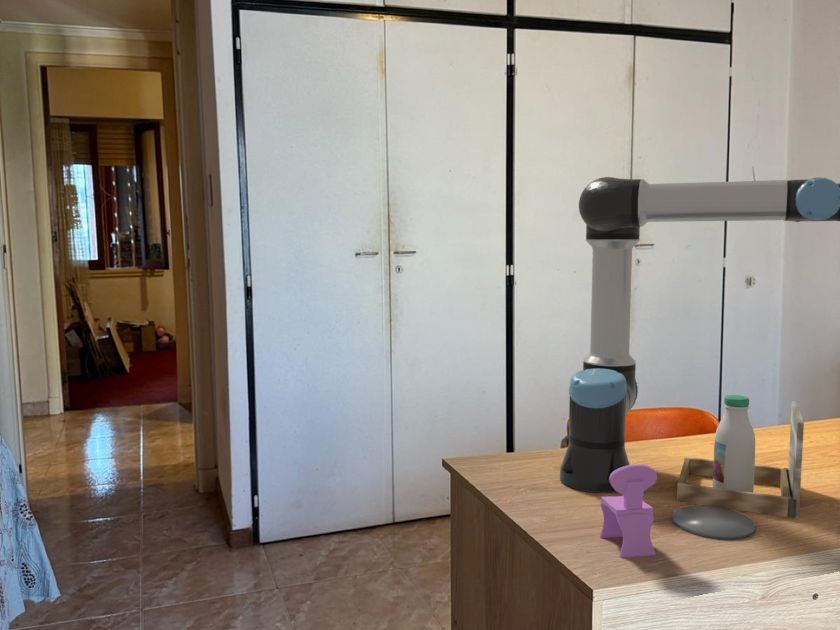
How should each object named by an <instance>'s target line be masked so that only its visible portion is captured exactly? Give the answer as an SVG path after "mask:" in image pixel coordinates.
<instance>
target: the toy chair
mask: <svg viewBox="0 0 840 630" xmlns="http://www.w3.org/2000/svg"><path fill="white" fill-rule="evenodd" d="M609 480H610V483H611V485H612V487H613V488H614V490H615V491H617V493H619V494H620V495H621V496H617V495H616V496H600V507H601V511H602V515H603V516H602V518H603V522H602V523H603V524H602V529H601V532H600V534H599V538H600V539H605V538H606V539H607V538H610V539H611V538H622V545H621V549H620V552H619V558H632V557H645V556H646V557H648V556H656V555H657V553H656V551H655V549H654V546H653V543H652V539H651V528H652V525H653V521H654V518H655V517H654V507H652V506H651V505H649V504H648V503H646V502H645V501H644V492H645V491H646V490H648V489H649V488H651V487H652V486H653V485H655V483H657V480H658V475H657V471H656V469H655V468H654V467H652V466H651V465H647V464H641V463H637V464H636V463H635V464H630V465H627V466H624V467H621V468H618V469H616V470H615V471H613V472H612V473H611V474H610V477H609Z"/></svg>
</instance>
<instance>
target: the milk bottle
mask: <svg viewBox="0 0 840 630" xmlns="http://www.w3.org/2000/svg"><path fill="white" fill-rule="evenodd" d="M723 401H724V405H723V407H724V412H723V413H724V414H723V416H722V418H721V420H720V422H719V424H718V425H717V428H716V432H715V436H714V444H713V445H714V447H713V460H714V463H713V477H712V487H713V488H721V489H729V490H737V491H745V492H753V493H754V488H755V487H754V486H755V482H754V470H755V465H756V464H755V463H756V436H755V431H754V429H753V425H752V423H751V421H750V419H749V414H748V410H749V408H750V407H749V406H750V398H749V397H748V396H745V395H740V394H728V395H725V396H724V400H723Z"/></svg>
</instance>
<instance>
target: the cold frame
mask: <svg viewBox="0 0 840 630" xmlns="http://www.w3.org/2000/svg"><path fill="white" fill-rule="evenodd" d="M790 410H791V411H790V412H791V413H790V427H789V428H790V430H789V432H790V433H789V446H788V447H789V450H788V467H777V466H770V465H760V464H755V470H754V483H759V482H760V483H761V484H767V483H768V484H769V485H775V484H777V485H778V486H779V490H780V495H776V494H767V493H759V492H754V491H753V492H745V491H737V490H729V489H721V488H713V486H711V487H710V486H705V485H704V486H703V485H696V484H688V481H689V476H690V475H693V476H703V477H709V478H710V477H711V478H713V463H714V459H709V458H699V457H690V456H685V457H684V461H683V462H682V463H683V464H682V467H681V471H680V474H679V478H678V481H677V486H676V487H677V488H676V502H677V503H682V504H683V503H684V504H691V505H706V506H715V507H721V508H726V509H730V510H734V509H735V510H734V511H741V510H742V512H750V513H757V514H762V515H763V514H765V515H771V516H780V517H785V518H786V517H787V518H794V519H800V518H799V517H800V505H801V504H800V503H801V502H800V501H801V499H800V498H801V484H802V483H801V481H802V466H803V464H802V463H803V444H804V429H805V428H804V427H805V423H804V420H803V415H802V413H801V409H800V405H799V402H798V401H797V400H791V409H790Z"/></svg>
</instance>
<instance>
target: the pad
mask: <svg viewBox="0 0 840 630" xmlns="http://www.w3.org/2000/svg"><path fill="white" fill-rule="evenodd" d="M671 520H672V522H673V523H674V525H675V526H677V527H678V528H680V529H681V530H684V531H685V532H688V533H691V534H693V535H697V536H700V537H705V538H711V539H716V540H717V539H718V540H719V539H720V540H737V539H744V538H747V537H750V536H752V535H753V534H754V533H755V531H756V523H755V521H754V520H753V519H752V518H751V517H750V516H747V515H745V514H744V513H741V512H739V511H738V510H734V509H727V508H721V507H715V506H706V505H697V504H692V505H685V506H681V507H679V508H677V509H675V510H674V511H673V512H672V519H671Z"/></svg>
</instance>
